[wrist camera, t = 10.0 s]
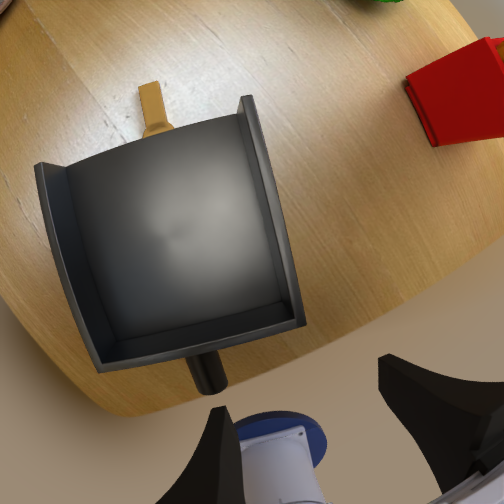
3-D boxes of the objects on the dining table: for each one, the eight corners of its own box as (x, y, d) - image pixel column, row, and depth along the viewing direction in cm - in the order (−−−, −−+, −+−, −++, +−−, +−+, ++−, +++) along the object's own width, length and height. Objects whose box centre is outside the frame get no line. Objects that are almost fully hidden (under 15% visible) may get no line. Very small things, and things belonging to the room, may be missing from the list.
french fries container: (395, 74, 19) (522, 8, 6) (454, 57, 20) (558, 15, 6) (432, 151, 21) (576, 137, 7) (484, 122, 21) (596, 107, 7)
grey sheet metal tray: (300, 345, 16) (316, 372, 13) (132, 385, 16) (120, 415, 13) (245, 113, 14) (252, 93, 11) (62, 170, 13) (33, 165, 10)
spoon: (180, 149, 19) (179, 147, 18) (148, 158, 19) (146, 157, 18) (164, 81, 18) (163, 78, 17) (134, 91, 18) (132, 88, 17)
